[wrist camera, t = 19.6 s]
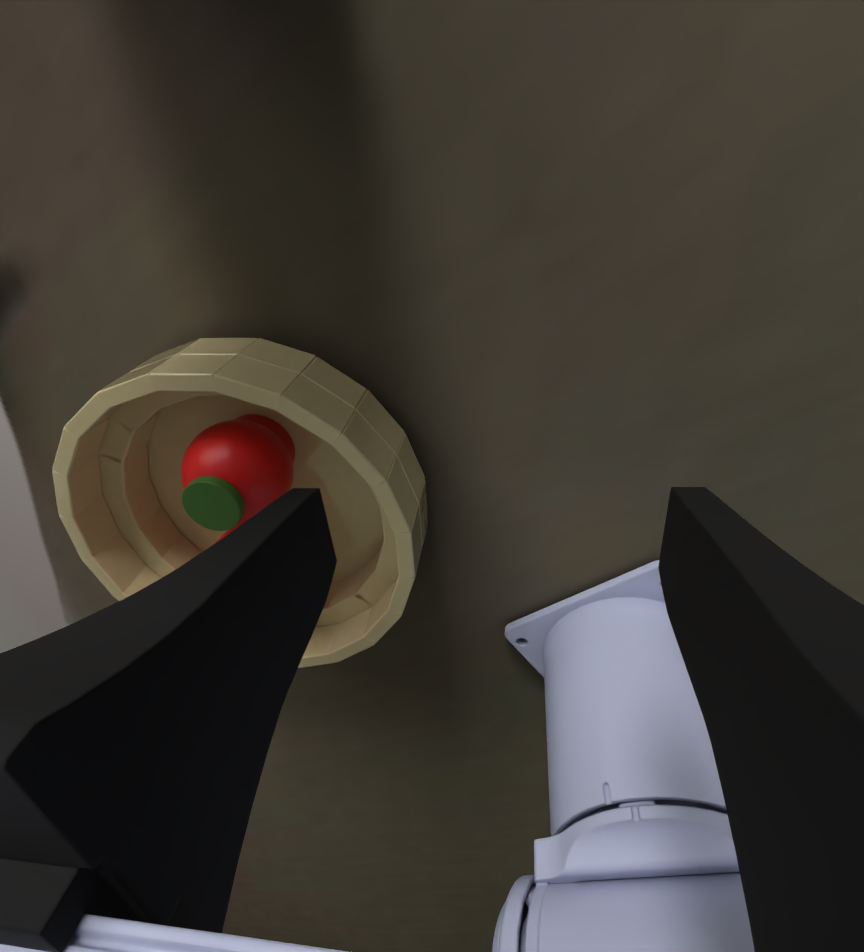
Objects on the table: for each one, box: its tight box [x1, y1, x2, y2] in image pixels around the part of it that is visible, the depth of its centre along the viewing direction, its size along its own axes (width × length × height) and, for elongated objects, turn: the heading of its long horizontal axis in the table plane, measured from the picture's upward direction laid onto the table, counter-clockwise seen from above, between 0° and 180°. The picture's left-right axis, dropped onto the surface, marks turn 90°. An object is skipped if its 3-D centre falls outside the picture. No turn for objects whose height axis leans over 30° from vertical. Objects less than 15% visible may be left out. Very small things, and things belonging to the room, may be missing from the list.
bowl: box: [52, 338, 428, 668], centre depth 21 cm, size 13×13×4 cm
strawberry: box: [181, 414, 295, 531], centre depth 20 cm, size 4×4×4 cm
